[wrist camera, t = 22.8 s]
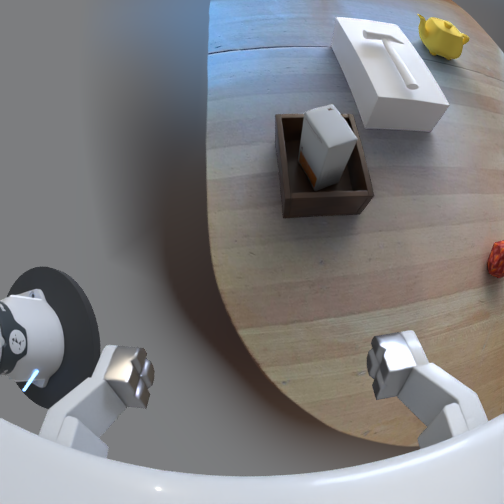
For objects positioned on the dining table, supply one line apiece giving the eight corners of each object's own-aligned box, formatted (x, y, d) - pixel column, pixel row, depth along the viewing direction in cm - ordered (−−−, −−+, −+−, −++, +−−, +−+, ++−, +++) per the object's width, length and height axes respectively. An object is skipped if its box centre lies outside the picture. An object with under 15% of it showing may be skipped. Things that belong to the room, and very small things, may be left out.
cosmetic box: (296, 160, 43) (303, 110, 31) (320, 152, 43) (333, 101, 31) (314, 193, 41) (328, 148, 30) (339, 183, 42) (359, 138, 30)
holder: (282, 218, 42) (284, 199, 35) (275, 140, 45) (275, 114, 38) (360, 214, 41) (374, 195, 34) (344, 139, 44) (353, 114, 38)
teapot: (414, 53, 50) (426, 23, 40) (399, 30, 53) (409, 2, 42) (467, 69, 49) (482, 44, 38) (451, 45, 51) (463, 21, 41)
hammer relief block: (388, 51, 50) (399, 17, 39) (430, 131, 44) (455, 97, 33) (331, 45, 51) (336, 8, 40) (365, 128, 45) (382, 86, 34)
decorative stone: (474, 259, 40) (501, 232, 38) (492, 289, 38) (519, 261, 35) (483, 255, 35) (512, 225, 32) (503, 288, 32) (532, 257, 30)
